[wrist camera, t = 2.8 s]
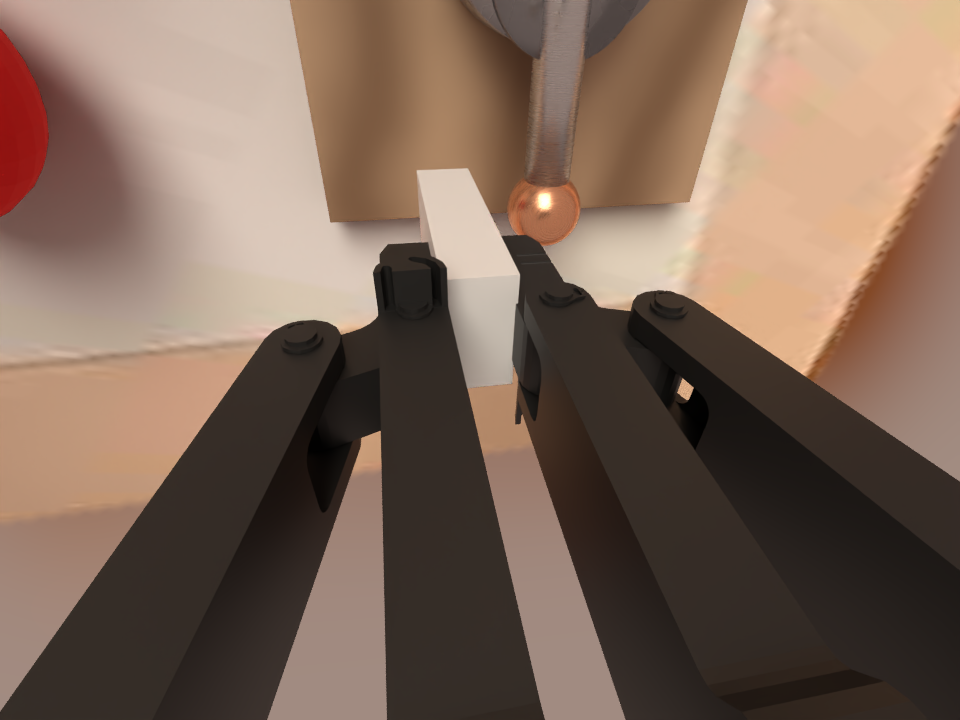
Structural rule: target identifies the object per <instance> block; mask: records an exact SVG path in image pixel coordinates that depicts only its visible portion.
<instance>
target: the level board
mask: <svg viewBox="0 0 960 720" xmlns="http://www.w3.org/2000/svg"><path fill="white" fill-rule="evenodd" d="M747 1H748V0H650V1H649V2H648V3H647V5H646V6H645V7H644V8H643V9H642V10H641V12H640V13H638V14H637V15H636V16H635V17H634V18H633V19H632V20H631V21H630V22H629V23H628V24H627V25H625V27H624V28H623V29H622V31H621V32H620V33H619V34H618V35H617V37H616V38H615V39H614V40H613V41H612V42H611V43H610V44H609V45H608V46H607V47H605V48H604V49H603V50H601V51H600V52H599V53H597V54H595V55H593V56H592V57H590V58H588V59H585V63H584V71H583V79H582V87H581V94H580V102H579V110H578V118H577V125H576V133H575V141H574V149H573V156H572V164H571V172H570V181H571V182H572V183H573V184H574V186H575V187H576V189H577V191H578V194H579V197H580V206H581V208H593V207H611V206H628V205H646V204H663V203H681V202H690V198H691V195H692V191H693V188H694V184H695V181H696V177H697V174H698V170H699V167H700V164H701V160H702V157H703V153H704V150H705V146H706V143H707V139H708V136H709V132H710V129H711V125H712V122H713V118H714V115H715V112H716V108H717V105H718V101H719V98H720V94H721V91H722V87H723V84H724V80H725V77H726V73H727V70H728V67H729V63H730V60H731V56H732V53H733V49H734V46H735V42H736V39H737V35H738V32H739V28H740V25H741V21H742V18H743V15H744V11H745V8H746V4H747ZM290 3H291V9H292V14H293V20H294V25H295V31H296V36H297V42H298V47H299V53H300V58H301V64H302V69H303V74H304V80H305V85H306V91H307V96H308V102H309V107H310V113H311V118H312V124H313V129H314V135H315V140H316V145H317V151H318V156H319V162H320V167H321V173H322V178H323V184H324V189H325V195H326V200H327V206H328V211H329V216H330V222H348V221H366V220H383V219H401V218H418V217H420V216H419V200H418V184H417V170H436V169H463V168H468V170H469V172H470V174H471V176H472V178H473V180H474V182H475V184H476V186H477V188H478V190H479V192H480V194H481V196H482V198H483V200H484V202H485V204H486V206H487V208H488V210H489V212H490V213H506V212H507V207H508V200H509V197H510V194H511V192H512V190H513V188H514V187H515V185H516V184H517V183H518V182H519V181H520V180H521V179H522V178H523V177H524V171H525V157H526V143H527V129H528V115H529V101H530V87H531V73H532V59H533V57H532V56H530V55H528V54H527V53H525V52H523V51H522V50H521V49H520V48H518V47H517V46H516V45H515V44H514V43H513V42H512V41H511V39H509V38H507V37H504V36H502V35H500V34H498V33H496V32H495V31H493V30H491V29H490V28H488V27H486V26H485V25H484V24H482V23H481V22H480V21H479V20H478V19H476V18H475V17H474V16H473V15H472V14H471V13H470V12H469V10H468V9H467V8H466V7H465V6H464V5H463V4H462V2H461V1H460V0H290Z"/></svg>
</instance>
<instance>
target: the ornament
mask: <svg viewBox="0 0 960 720" xmlns="http://www.w3.org/2000/svg"><path fill="white" fill-rule="evenodd" d="M48 139H49V133H48V124H47V115H46V111H45V108H44V105H43V102H42V98H41V95H40V92H39V89H38V87H37V85H36V83H35V81H34V79H33V77H32V75H31V73H30V71H29V69H28V67H27V65H26V63H25V61H24V60H23V58H22V57H21V55H20V54H19V53H18V51H17V50H16V48H15V47H14V46H13V44H12V43H11V41H10V40H9V39H8V37H7V36H6V34H5V33H4V32H3V31H2V30H1V29H0V217H1V216H3V215H5V214H6V213H8V212H10V211H11V210H12V209H13V208H14V207H15V206H16V205H17V204H18V203H19V202H20V201H21V200H22V199H23V197H24V196H25V195H26V194H27V193H28V192H29V191H30V190H31V189H32V188H33V187H34V186H35V183H36V181H37V179H38V177H39V175H40V173H41V171H42V169H43V166H44V162H45V158H46V153H47V146H48Z"/></svg>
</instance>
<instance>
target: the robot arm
mask: <svg viewBox="0 0 960 720" xmlns="http://www.w3.org/2000/svg"><path fill="white" fill-rule="evenodd" d="M417 184H418V200H419V216H420V231H421V243H405V244H388V245H387V246H386V247H385V249H384V250H383V251H382V252H381V253H380V263H379V264H378V265H377V266H376V267H375V269H374V272H373V276H374V284H375V291H376V299H377V306H378V317H377V318H376V319H375V320H374V321H373V322H372V323H370V324H369V325H367V326H365V327H363V328H361V329H359V330H356V331H353V332H350V333H346V334H343V335H341V334H340V332H339V330H338V329H337V327H335V326H333V325H331V324H330V323H328V322H323V321H317V320H308V321H297V322H293V323H290V324H287V325H284V326H282V327H280V328H278V329H276V330H274V331H273V332H272V333H271V334H270V335H269V336H268V337H266V338H265V339H264V341H263V342H262V344H261V345H260V346H259V348H258V349H257V351H256V352H255V354H254V355H253V356H252V358H251V359H250V361H249V362H248V363H247V365H246V366H245V368H244V369H243V370H242V372H241V373H240V375H239V376H238V377H237V379H236V380H235V382H234V383H233V384H232V386H231V387H230V389H229V390H228V392H227V393H226V394H225V396H224V397H223V399H222V400H221V401H220V403H219V404H218V406H217V407H216V408H215V410H214V411H213V413H212V414H211V415H210V417H209V418H208V420H207V421H206V423H205V424H204V425H203V427H202V428H201V430H200V431H199V432H198V434H197V435H196V437H195V438H194V439H193V441H192V442H191V444H190V445H189V446H188V448H187V449H186V451H185V452H184V454H183V455H182V456H181V458H180V459H179V461H178V462H177V463H176V465H175V466H174V468H173V469H172V470H171V472H170V473H169V475H168V476H167V477H166V479H165V480H164V482H163V483H162V485H161V486H160V487H159V489H158V490H157V492H156V493H155V494H154V496H153V497H152V499H151V500H150V501H149V503H148V504H147V506H146V507H145V508H144V510H143V511H142V513H141V514H140V516H139V517H138V518H137V520H136V521H135V523H134V524H133V526H132V527H131V528H130V530H129V531H128V533H127V534H126V535H125V537H124V538H123V539H122V541H121V542H120V544H119V545H118V547H117V548H116V549H115V551H114V552H113V554H112V555H111V556H110V558H109V559H108V561H107V562H106V563H105V565H104V566H103V568H102V569H101V571H100V572H99V573H98V575H97V576H96V577H95V579H94V581H93V582H92V583H91V585H90V586H89V587H88V589H87V590H86V592H85V593H84V595H83V596H82V597H81V599H80V600H79V601H78V603H77V604H76V606H75V607H74V608H73V610H72V611H71V613H70V614H69V616H68V617H67V618H66V620H65V621H64V623H63V624H62V626H61V627H60V628H59V630H58V631H57V632H56V634H55V635H54V637H53V638H52V640H51V641H50V642H49V644H48V645H47V647H46V648H45V649H44V651H43V652H42V654H41V655H40V656H39V658H38V659H37V661H36V662H35V663H34V665H33V666H32V668H31V669H30V671H29V672H28V673H27V675H26V676H25V678H24V679H23V680H22V682H21V683H20V685H19V686H18V687H17V689H16V690H15V692H14V693H13V694H12V696H11V697H10V699H9V700H8V701H7V703H6V704H5V706H4V707H3V709H2V710H1V712H0V720H267V718H268V715H269V712H270V710H271V706H272V703H273V701H274V698H275V695H276V692H277V689H278V686H279V683H280V680H281V677H282V674H283V672H284V669H285V666H286V663H287V660H288V657H289V654H290V651H291V648H292V645H293V642H294V640H295V637H296V634H297V630H298V628H299V625H300V622H301V619H302V616H303V613H304V610H305V607H306V604H307V601H308V598H309V596H310V593H311V590H312V587H313V584H314V581H315V578H316V575H317V572H318V569H319V567H320V563H321V561H322V557H323V555H324V552H325V549H326V546H327V543H328V540H329V537H330V534H331V531H332V529H333V525H334V523H335V520H336V517H337V514H338V511H339V508H340V505H341V502H342V499H343V496H344V493H345V491H346V488H347V485H348V482H349V479H350V476H351V473H352V470H353V467H354V464H355V461H356V458H357V456H358V453H359V450H360V447H361V438H362V437H365V436H367V435H370V434H373V433H375V432H378V431H381V459H382V499H383V500H382V505H383V547H384V596H385V597H384V598H385V644H386V688H387V690H386V691H387V720H545V719H544V715H543V711H542V707H541V703H540V700H539V695H538V691H537V686H536V682H535V678H534V673H533V669H532V665H531V661H530V656H529V652H528V648H527V643H526V640H525V635H524V630H523V626H522V623H521V618H520V613H519V609H518V605H517V600H516V596H515V592H514V587H513V583H512V579H511V574H510V571H509V566H508V562H507V557H506V553H505V549H504V544H503V540H502V536H501V532H500V527H499V523H498V519H497V514H496V510H495V506H494V501H493V498H492V493H491V489H490V484H489V480H488V476H487V471H486V467H485V463H484V458H483V454H482V450H481V446H480V441H479V437H478V433H477V428H476V424H475V420H474V415H473V411H472V407H471V403H470V398H469V394H468V390H467V388H475V387H485V386H494V385H504V384H512V379H513V365H514V367H515V370H516V373H517V376H518V389H517V401H516V413H515V424H520V423H521V415H522V414H523V416H524V419H525V422H526V425H527V428H528V431H529V434H530V437H531V440H532V443H533V446H534V449H535V452H536V455H537V458H538V461H539V464H540V467H541V470H542V473H543V476H544V479H545V482H546V485H547V488H548V491H549V494H550V497H551V499H552V502H553V505H554V508H555V511H556V514H557V517H558V520H559V523H560V526H561V529H562V532H563V535H564V538H565V541H566V544H567V547H568V550H569V553H570V556H571V559H572V562H573V565H574V567H575V571H576V574H577V576H578V580H579V582H580V585H581V588H582V591H583V594H584V597H585V600H586V603H587V606H588V609H589V612H590V615H591V618H592V621H593V624H594V627H595V630H596V633H597V636H598V638H599V642H600V644H601V648H602V651H603V654H604V657H605V660H606V663H607V666H608V668H609V671H610V674H611V677H612V680H613V683H614V686H615V689H616V692H617V695H618V698H619V701H620V704H621V707H622V710H623V713H624V716H625V719H626V720H960V482H959V481H958V480H957V479H955V478H954V477H952V476H950V475H949V474H948V473H946V472H945V471H943V470H942V469H940V468H939V467H937V466H936V465H935V464H933V463H931V462H930V461H928V460H927V459H926V458H924V457H923V456H921V455H920V454H918V453H917V452H915V451H914V450H912V449H911V448H910V447H908V446H906V445H905V444H904V443H902V442H901V441H899V440H898V439H896V438H895V437H893V436H892V435H890V434H889V433H887V432H886V431H885V430H883V429H881V428H880V427H879V426H877V425H876V424H874V423H873V422H871V421H870V420H868V419H867V418H865V417H864V416H862V415H861V414H859V413H858V412H857V411H855V410H854V409H852V408H851V407H849V406H848V405H846V404H845V403H843V402H842V401H840V400H839V399H837V398H836V397H835V396H833V395H832V394H830V393H829V392H827V391H826V390H824V389H823V388H821V387H820V386H818V385H817V384H815V383H814V382H812V381H811V380H810V379H808V378H807V377H805V376H804V375H802V374H801V373H799V372H798V371H796V370H795V369H793V368H792V367H790V366H789V365H788V364H786V363H785V362H783V361H782V360H780V359H779V358H777V357H776V356H774V355H773V354H771V353H770V352H768V351H767V350H765V349H764V348H763V347H761V346H760V345H758V344H757V343H755V342H754V341H752V340H751V339H749V338H748V337H746V336H745V335H743V334H742V333H740V332H739V331H738V330H736V329H735V328H733V327H732V326H730V325H729V324H727V323H726V322H724V321H723V320H721V319H720V318H718V317H717V316H715V315H714V314H713V313H711V312H710V311H708V310H707V309H705V308H704V307H702V306H701V305H699V304H698V303H696V302H695V301H693V300H691V299H689V298H687V297H685V296H683V295H679V294H676V293H674V292H671V291H666V292H665V291H660V290H658V291H650V292H645V293H642V294H640V295H637V297H636V298H635V299H634V301H633V304H632V308H631V311H624V310H615V309H606V308H601V307H598V306H597V304H596V303H595V301H594V300H593V298H592V297H591V295H590V294H589V293H587V292H586V291H585V290H584V289H583V288H580V287H578V286H576V285H574V284H570V283H565V282H564V281H563V279H562V278H561V276H560V275H559V273H558V271H557V270H556V268H555V267H554V265H553V263H551V260H550V259H549V257H548V255H546V252H545V251H544V249H543V247H542V246H541V244H540V243H539V242H538V241H536V240H534V239H533V238H531V237H529V236H528V235H514V236H501V235H500V233H499V231H498V229H497V227H496V225H495V223H494V221H493V219H492V216H491V214H490V212H489V210H488V208H487V206H486V204H485V202H484V200H483V198H482V196H481V194H480V192H479V190H478V188H477V186H476V184H475V182H474V180H473V178H472V176H471V174H470V172H469V170H468V168H463V169H436V170H417ZM682 378H683V379H684V380H686V381H687V382H688V383H689V384H690V385H691V386H693V387H694V389H693V391H692V394H691V397H690V399H689V400H686V399H684V398H683V397H681V396H680V395H679V394H678V393H677V392H678V389H679V386H680V383H681V380H682Z"/></svg>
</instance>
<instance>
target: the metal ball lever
mask: <svg viewBox="0 0 960 720" xmlns="http://www.w3.org/2000/svg"><path fill="white" fill-rule="evenodd" d="M460 1H461V2H462V4H463V5H464V6H465V7H466V8H467V9H468V10H469V12H470V13H471V14H472V15H473V16H474V17H475V18H476V19H478V20H479V21H480V22H481V23H482V24H484V25H485V26H486V27H488V28H490V29H491V30H493V31H495V32H496V33H498V34H500V35H502V36H504V37H507V38H509V39H511V41H512V42H513V43H514V44H515V45H516V46H517V47H518V48H520V49H521V50H522V51H523V52H525V53H527V54H528V55H530V56H532V57H533V59H532V73H531V87H530V101H529V115H528V129H527V143H526V157H525V171H524V177H523V178H522V179H521V180H520V181H519V182H518V183H517V184H516V185H515V187H514V188H513V190H512V192H511V194H510V197H509V200H508V207H507V212H508V219H509V222H510V224H511V227H512V228H513V230H514V232H515V233H516V234H517V235H528V236H529V237H531V238H533V239H534V240H536V241H538V242H539V243H540V244H541V246H548V245H552V244H555V243H558V242H560V241H562V240H563V239H565V238H566V237H567V236H568V235H569V234H570V233H571V232H572V231H573V229H574V228H575V226H576V224H577V222H578V219H579V216H580V209H581V206H580V197H579V194H578V191H577V189H576V187H575V186H574V184H573V183H572V182H571V181H570V172H571V164H572V156H573V149H574V141H575V133H576V125H577V118H578V110H579V102H580V94H581V87H582V79H583V71H584V63H585V59H588V58H590V57H592V56H593V55H595V54H597V53H599V52H600V51H601V50H603V49H604V48H605V47H607V46H608V45H609V44H610V43H611V42H612V41H613V40H614V39H615V38H616V37H617V35H618V34H619V33H620V32H621V31H622V29H623V28H624V27H625V25H627V24H628V23H629V22H630V21H631V20H632V19H633V18H634V17H635V16H636V15H637V14H638V13H640V12H641V10H642V9H643V8H644V7H645V6H646V5H647V3H648V2H649V1H650V0H460Z"/></svg>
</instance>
